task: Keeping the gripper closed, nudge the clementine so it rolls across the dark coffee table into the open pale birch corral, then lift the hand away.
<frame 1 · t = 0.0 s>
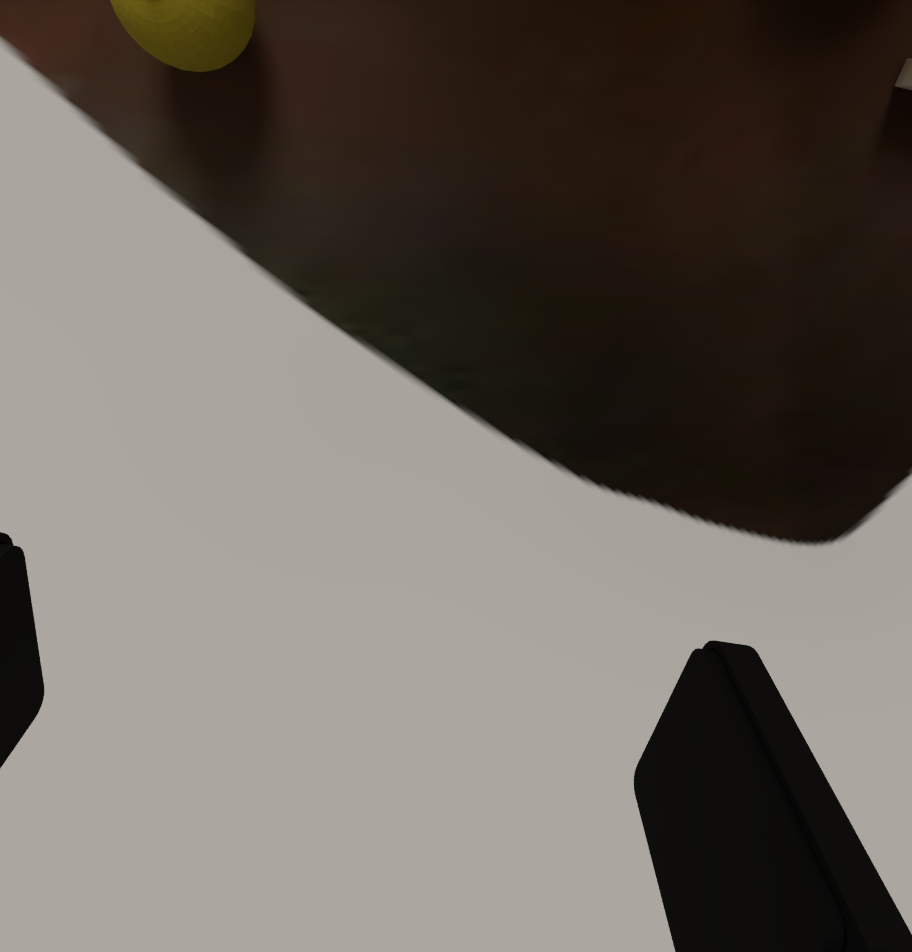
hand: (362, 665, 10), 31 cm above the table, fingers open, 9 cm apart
lemon: (216, 7, 32), on the table
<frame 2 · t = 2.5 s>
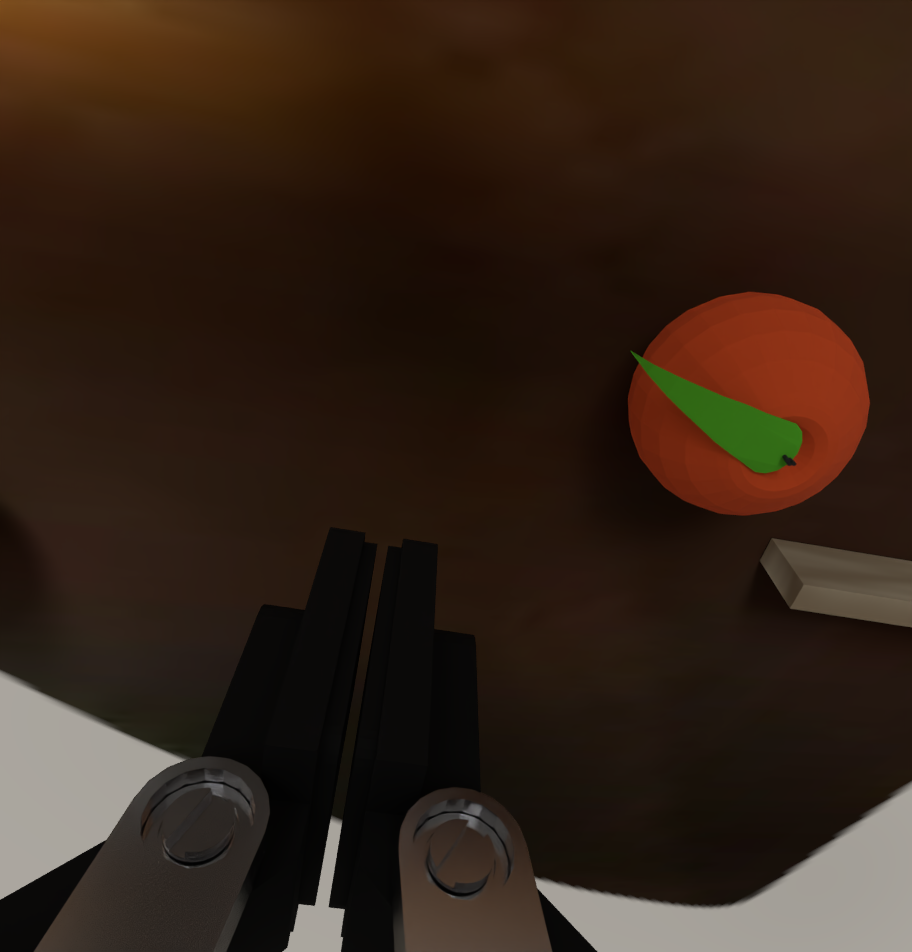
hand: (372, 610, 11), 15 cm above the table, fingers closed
clementine: (692, 357, 24), on the table
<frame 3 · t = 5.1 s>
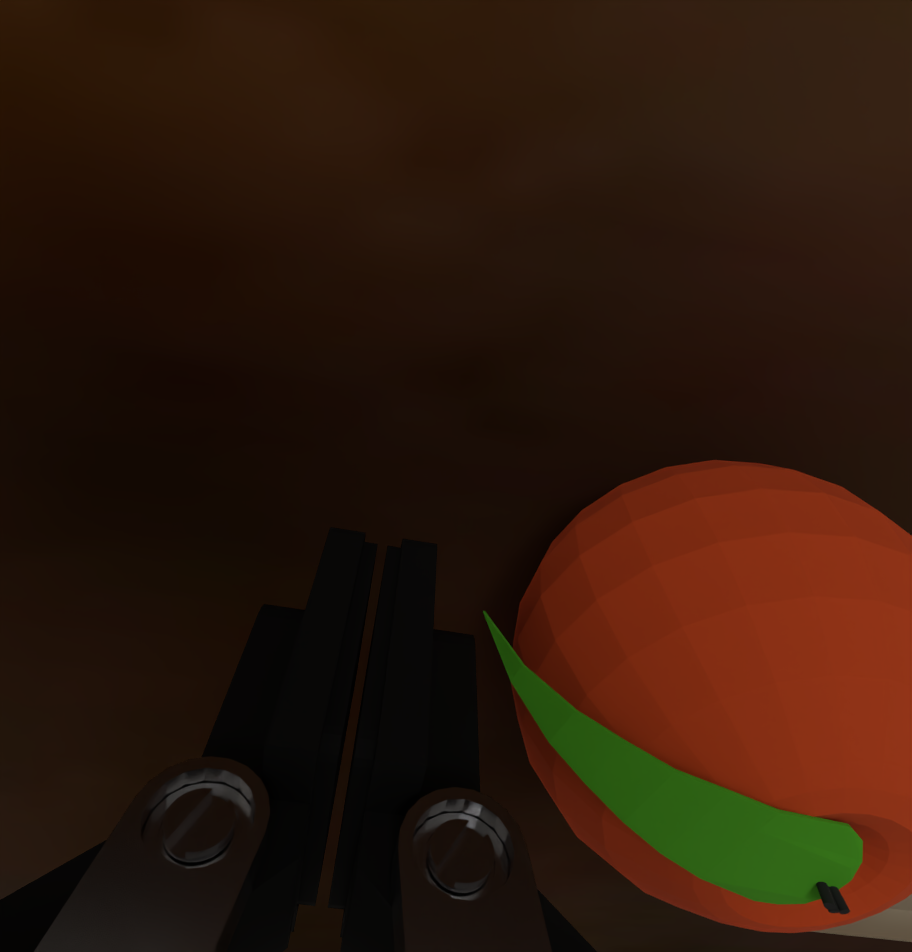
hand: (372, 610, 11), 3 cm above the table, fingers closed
clementine: (641, 533, 14), on the table, touching gripper
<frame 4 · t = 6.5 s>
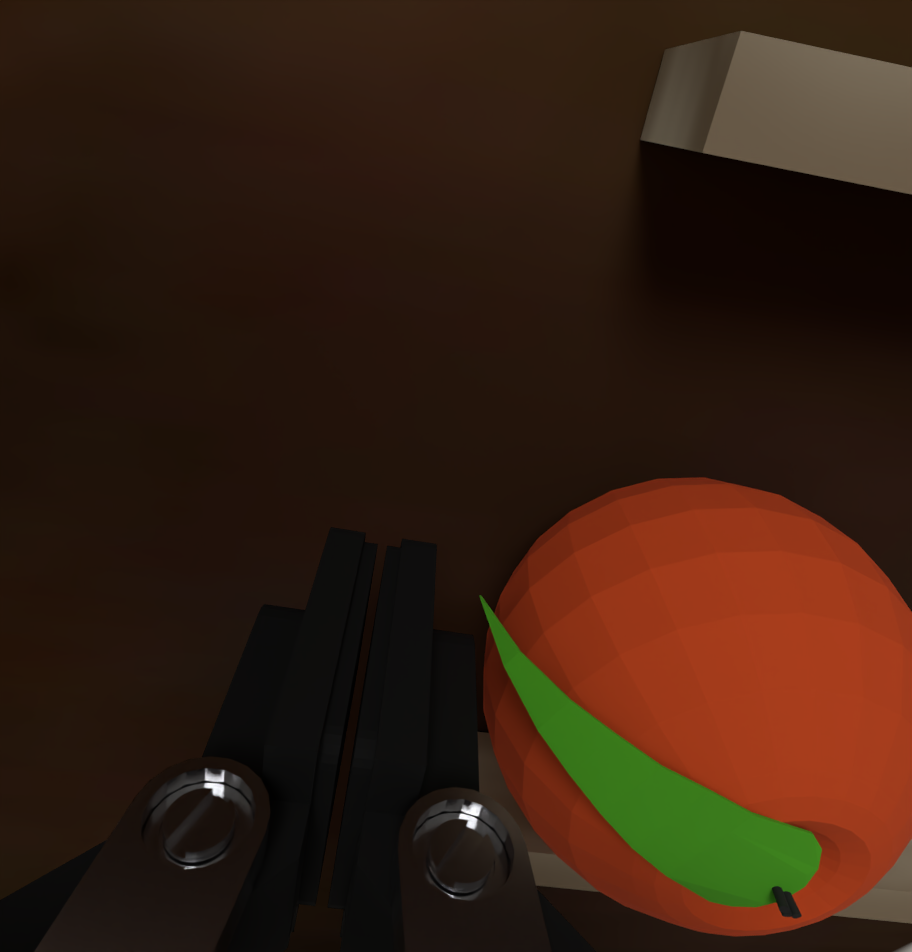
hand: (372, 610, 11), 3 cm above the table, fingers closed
corral: (837, 551, 14), on the table
clementine: (613, 543, 14), on the table, touching gripper
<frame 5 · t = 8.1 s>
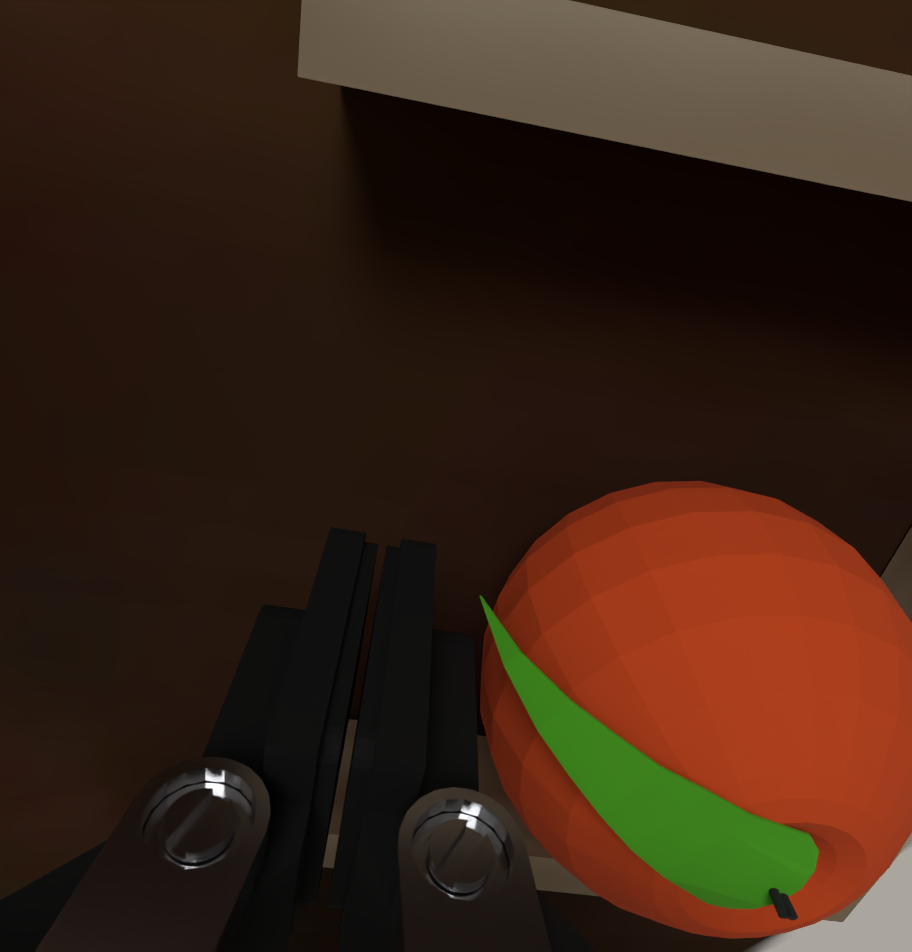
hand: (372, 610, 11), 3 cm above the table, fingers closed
corral: (623, 523, 14), on the table
clementine: (610, 546, 14), on the table, touching gripper
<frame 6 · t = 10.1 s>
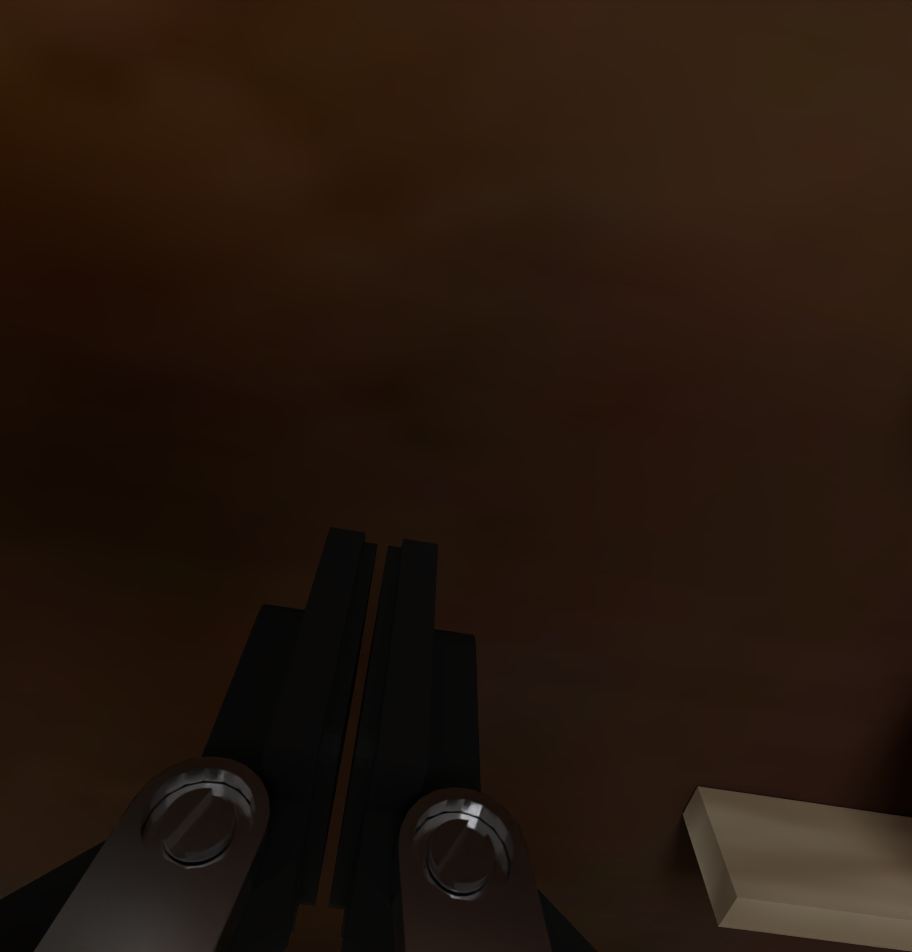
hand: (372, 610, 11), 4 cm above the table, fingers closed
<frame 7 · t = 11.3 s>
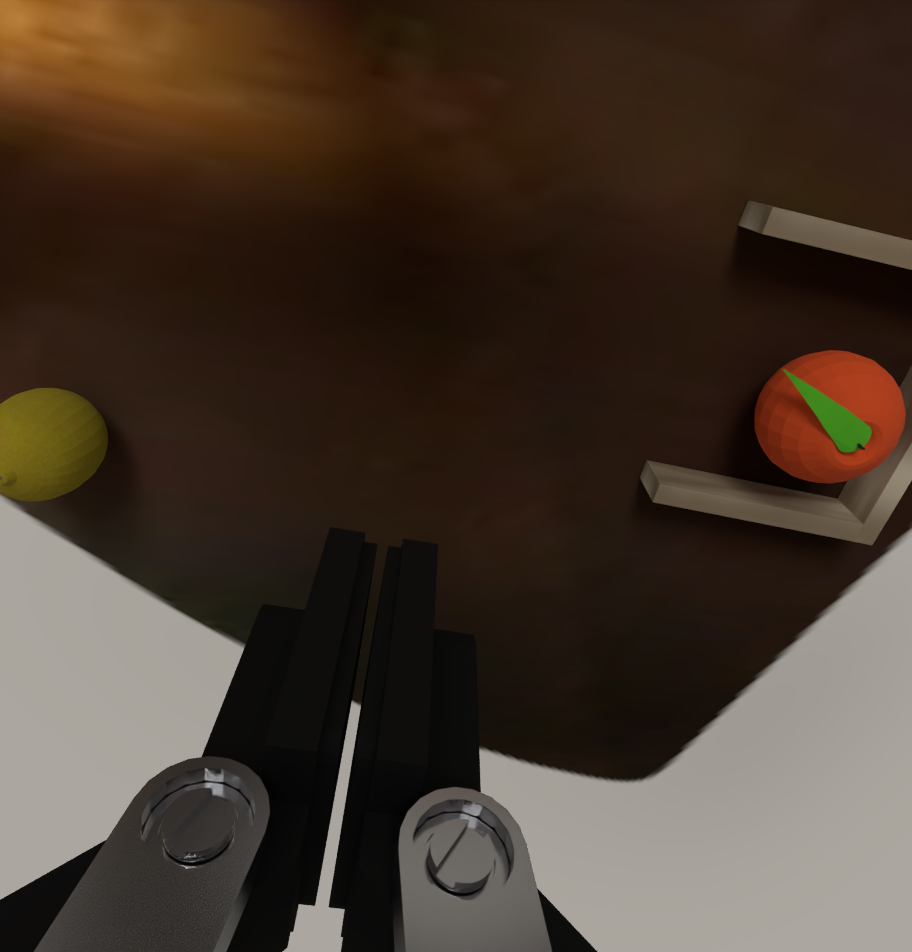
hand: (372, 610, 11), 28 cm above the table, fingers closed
corral: (797, 376, 38), on the table
lemon: (84, 412, 39), on the table
clementine: (790, 386, 38), on the table
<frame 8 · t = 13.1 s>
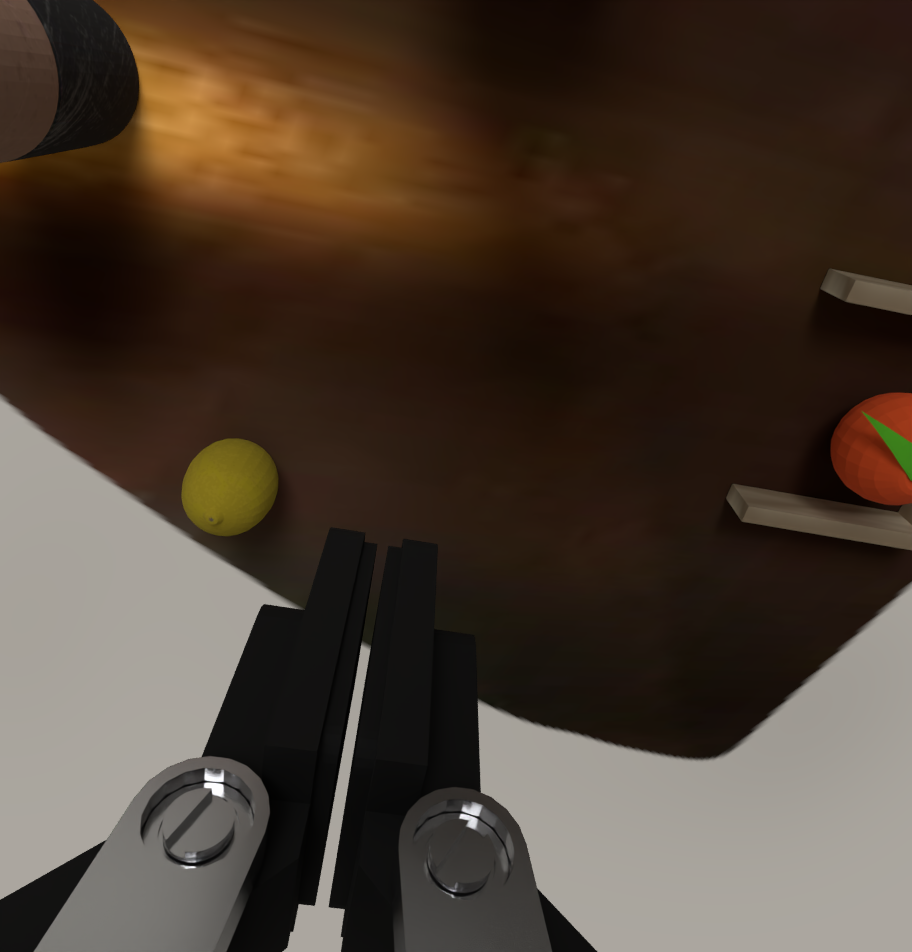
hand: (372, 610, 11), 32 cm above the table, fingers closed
corral: (866, 411, 44), on the table
lemon: (249, 455, 46), on the table
clementine: (859, 419, 44), on the table
travel mug: (71, 69, 35), on the table
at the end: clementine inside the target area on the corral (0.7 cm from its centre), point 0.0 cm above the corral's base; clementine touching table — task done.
